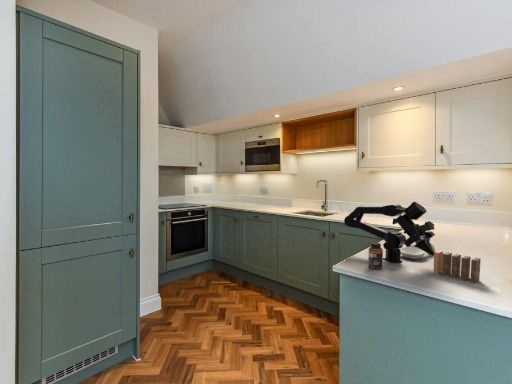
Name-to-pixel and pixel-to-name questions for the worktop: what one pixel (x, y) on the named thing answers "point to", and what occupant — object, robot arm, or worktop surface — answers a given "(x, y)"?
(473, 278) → the walnut domino
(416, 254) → the spoon rest
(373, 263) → the supplement bottle
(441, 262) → the terracotta domino
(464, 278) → the walnut domino
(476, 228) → the worktop surface
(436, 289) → the worktop surface
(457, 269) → the walnut domino
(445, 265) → the walnut domino
